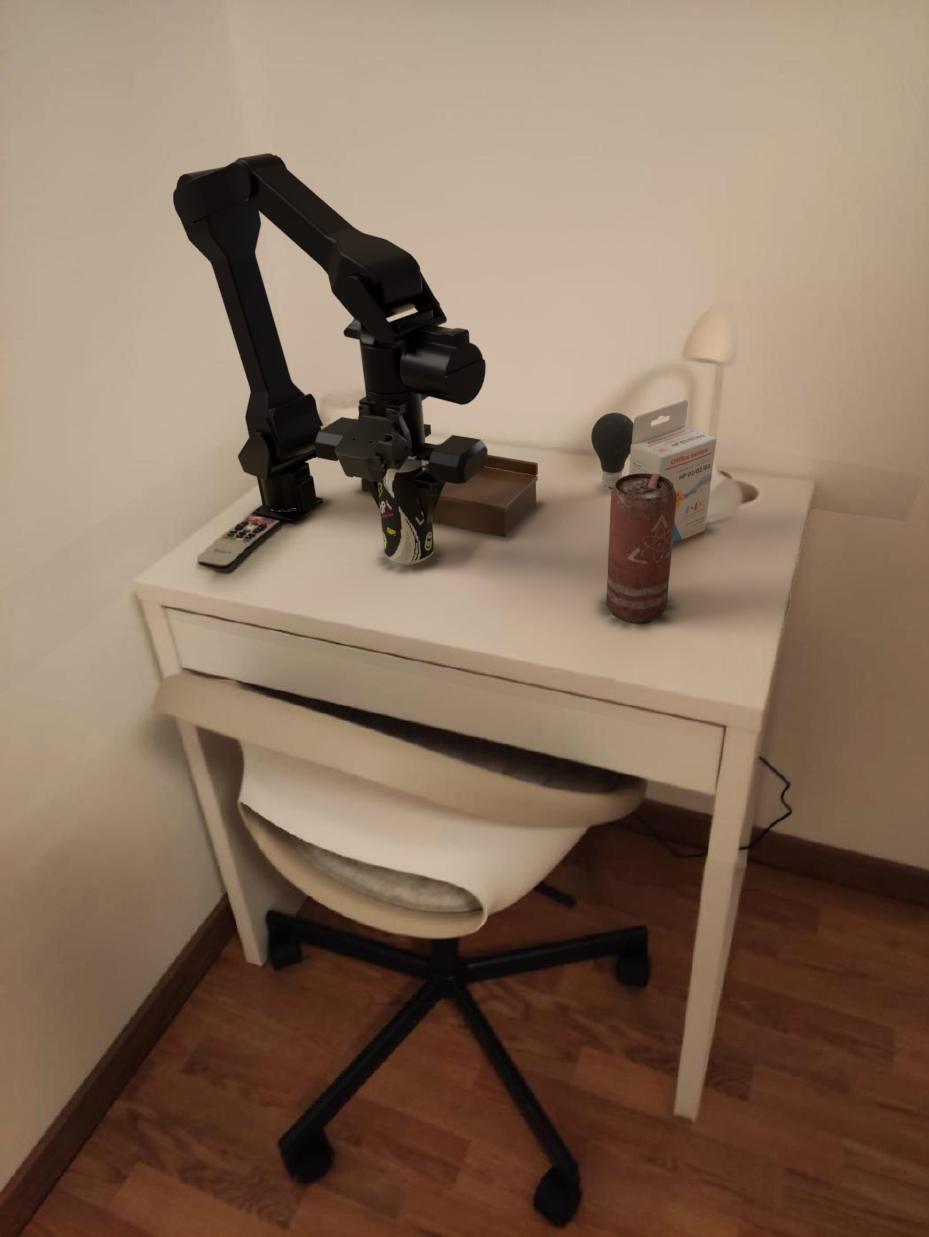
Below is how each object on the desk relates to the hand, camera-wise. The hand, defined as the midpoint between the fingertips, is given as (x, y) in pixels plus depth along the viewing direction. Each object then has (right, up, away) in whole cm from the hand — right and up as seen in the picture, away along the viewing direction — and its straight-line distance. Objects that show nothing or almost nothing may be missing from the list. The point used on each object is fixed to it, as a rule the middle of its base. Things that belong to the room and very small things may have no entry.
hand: (406, 519), depth 99 cm
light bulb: (+25, +6, +15) cm, 30 cm away
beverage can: (0, -4, +3) cm, 5 cm away
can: (+24, -10, -8) cm, 27 cm away
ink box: (+30, -1, +4) cm, 30 cm away
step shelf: (+6, +3, +12) cm, 14 cm away
